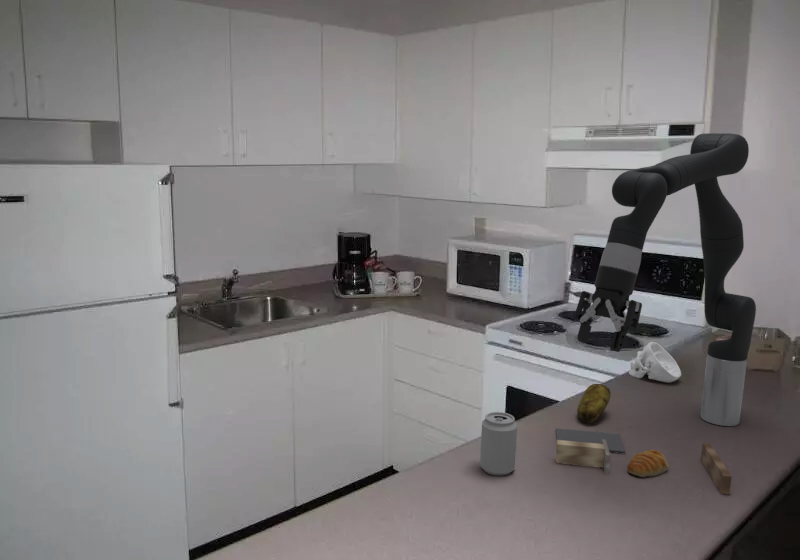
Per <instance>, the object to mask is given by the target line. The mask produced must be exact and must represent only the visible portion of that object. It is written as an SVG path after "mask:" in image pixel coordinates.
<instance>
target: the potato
mask: <svg viewBox="0 0 800 560" xmlns="http://www.w3.org/2000/svg"><path fill="white" fill-rule="evenodd" d="M610 399H611V390H610V388H609V387H607V385H603V384H601V383H592V384H591V385H589V386H587V388H586V389H585V391H584V393H583V394H582V396H581V398H580V401H579V403H578V406H577V416H578V418H579V419H580V420H581V421H583V422H584V423H586V424H588V423H593V422H596V421H597V420H598V418H599V416H600V415H602V414H603V413H604V411H605V410H606V409H607V406H608V405H609V403H610Z"/></svg>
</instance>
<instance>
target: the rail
mask: <svg viewBox="0 0 800 560" xmlns="http://www.w3.org/2000/svg"><path fill="white" fill-rule="evenodd" d="M701 443H702V444H701V452H700V461H701V462H702V464H703V465H704V468H705V469H706V471H707V473H708V474H709V476H710V477H711V480H712V481H713V483H714V484H715V486H716V488H717V489H718V492H719V493H720V495H727V496H729V495H730V493H731V486H732V477H733V476H732V474H731V473H730V472H729V470H728V469H727V467H726V465H725V463H724V462H723V460H722V459H721V457H720V456H719V455H718V453H717V452H716V450H715V448H714V447H713V445H712V444H711V443H708V442H701Z"/></svg>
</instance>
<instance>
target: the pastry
mask: <svg viewBox="0 0 800 560" xmlns="http://www.w3.org/2000/svg"><path fill="white" fill-rule="evenodd" d="M669 465H670V464H669V463H668V460H667V459H666V456H665V455H664V454H663V453H662V452H661V451H659V450H656V449H652V450H651V449H647V450H644V451H642V452H638V453H637V454H635V455H634V456H632V458H631V459H630V460H629V463H628V464H627V471H628V472H627V473H629V474H631V475H633V476H637V477H640V478H647V477H646V476H649V477H656V476H658V475H661V474H663V473H665V472H667V471H668V469H669V467H670V466H669Z"/></svg>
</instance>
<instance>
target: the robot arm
mask: <svg viewBox="0 0 800 560" xmlns="http://www.w3.org/2000/svg"><path fill="white" fill-rule="evenodd" d="M689 152H690V154H683V155H678V156H675V157H671V158H668V159H665V160H663V161H660V162H659V163H656V164H655V165H654V164H653V165H650V166H644V167H639V168H634V169H631V170H626V171H624V172H622V173H621V174H619V175H618V176H617V178H615V180H614V181H613V184H612V186H611V195H612V198H613V200H614V201H615V202H616V203H617V204H618V205H620V206H623V207H629V208H633V210H632V211H631V212H630V213H628V214H626V215H620V216H616V217H615V218H614V219H613V220H612V223H611V224H610V230H609V233H608V236H607V241H606V244H605V247H604V250H603V251H602V254H601V259H600V263H599V266H598V270H597V273H596V277H595V280H594V287H595V290H594V292H592V293H591V292H589V291H586V290H583V291H581V293H580V297H579V299H578V302H577V306H576V309H575V312H574V319H577V320H578V321H579V322H580V326H579V330H578V333H577V341H578V342H580V343H583V344H587V343H588V342H589V338H590V336H591V335H590V334H591V330H592V327H593V326H592V324H593V323H594V322H595V321H596V320H597V319H600V318H602V317H603V318H608V319H610V320H611V322H612V323H613V325H614V329H615V331H614V332H613V335H612V340H611V343H610V347H609V349H610V351H613V352H617V353H619V352H621V350H622V349H623V347H624V343H625V341H626V336H627V334H629V333H637V331H638V326H639V323H640V322H639V321H640V318H641V312H642V308H643V304H642V302H640V301H636V300H634V299H630V296H631V295H633V293H634V292H633V291H634V289H635V285H636V281H637V277H638V275H639V274H638V273H639V270H640V266H641V262H642V254H643V249H644V246H645V241H646V238H647V235H648V231H649V230H650V227H651V226H652V224H653V223H654V221H655V218H656V217H657V216H658V214H659V212H660V210H661V208H662V207H663V206H664V203H665V201H666V199H667V196H670V195H674V194H675V193H677V192H679V191H681V190H683V189H685V188H688V187H691V186H692V185H694V187H695V193H696V199H697V208H698V215H699V228H700V230H699V231H700V232H699V233H700V242H701V245H700V246H701V251H702V259H703V260H702V261H703V271H704V274H703V275H704V300H703V301H704V302H703V303H704V317H705V320H706V323H707V324H708V325H709V326H710V327H713V328H716V329H719V330H726V331H729V332H731V336H730V337H729V338H727V339H720V340H718V339H717V340H714V341H710V343H709V344H708V345H707V354H706V355H707V356H706V361H705V362H706V364H705V373H704V380H703V381H704V382H703V388H702V389H703V391H702V398H701V407H700V414H699V415H700V418H701V419H702V420H703V421H705V422H706V423H710V424H713V425H717V426H721V427H722V426H724V427H734V426H738V425H739V424H740V419H741V411H742V403H743V395H744V390H745V389H744V388H745V379H746V372H747V361H748V355H749V351H750V347H751V342H752V336H753V330H754V325H755V320H756V314H757V307H756V306H757V304H756V301H755V299H753V298H752V297H750V296H746V295H740V294H734V293H729V292H726V291H725V280H726V277H727V275H728V273H729V272H730V270H731V269H732V268H733V267H734V266H735V264H736V263H737V261H738V260H739V259H740V256H741V255H742V253H743V251H744V246H745V245H744V243H745V242H744V240H745V239H744V227H743V222H742V220H741V217H740V215H739V214H738V212H737V211H736V210H735V208H734V206H732V203H730V201H729V200H728V199H727V198H726V195H725V194H724V193H723V192H722V190H721V188H720V184H719V182H718V181H719V179H718V177H724V176H728V175H729V176H730V175H735V174H738V173H739V172H741V170H743V168H744V167H745V166H746V164H747V161H748V159H749V152H750V150H749V143H748V141H747V139H746V138H745V137H744V136H743V135H740V134H737V133H718V132H717V133H713V132H712V133H700V134H698V135H695V137H694V139H693V140H692V142H691V145H690V151H689ZM625 311H626V313H625Z"/></svg>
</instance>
